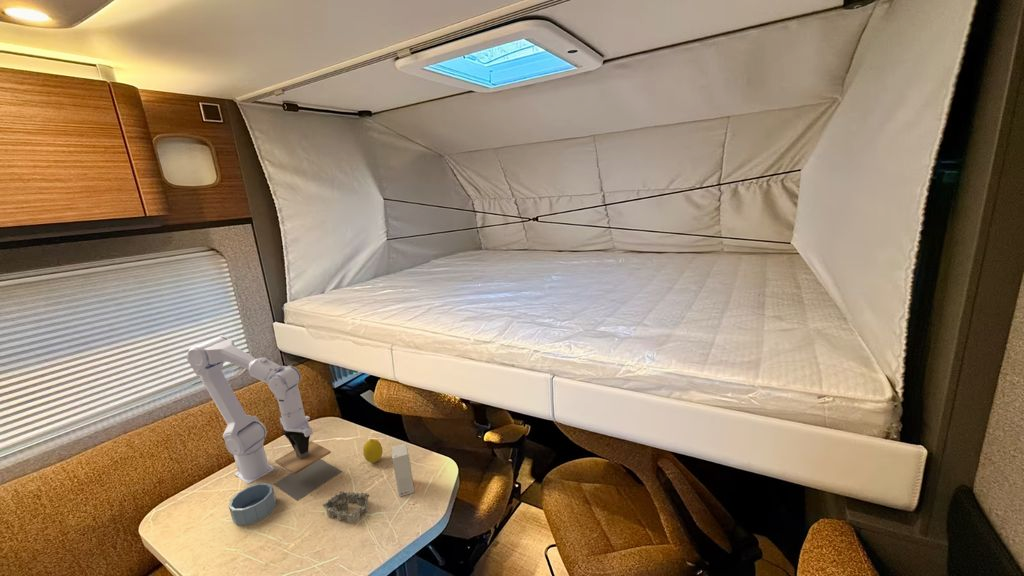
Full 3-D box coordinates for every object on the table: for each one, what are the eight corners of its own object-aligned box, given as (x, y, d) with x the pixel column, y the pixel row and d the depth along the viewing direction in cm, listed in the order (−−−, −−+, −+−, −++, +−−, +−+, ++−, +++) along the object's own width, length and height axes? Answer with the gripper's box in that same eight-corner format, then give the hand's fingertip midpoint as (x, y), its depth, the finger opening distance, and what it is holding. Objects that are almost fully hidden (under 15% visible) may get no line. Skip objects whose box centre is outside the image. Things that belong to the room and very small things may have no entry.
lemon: (378, 468, 127) (374, 445, 125) (362, 467, 128) (357, 444, 126) (387, 457, 132) (383, 434, 130) (371, 456, 133) (367, 434, 131)
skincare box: (414, 493, 115) (408, 454, 112) (398, 497, 114) (391, 458, 111) (413, 479, 120) (406, 442, 118) (398, 483, 119) (391, 446, 117)
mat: (273, 485, 124) (273, 484, 124) (317, 458, 135) (317, 457, 135) (297, 502, 116) (297, 500, 116) (342, 472, 127) (342, 471, 126)
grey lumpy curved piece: (374, 507, 112) (371, 493, 111) (352, 528, 105) (349, 514, 104) (345, 497, 116) (342, 484, 115) (322, 516, 110) (319, 503, 109)
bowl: (227, 517, 112) (222, 501, 111) (266, 493, 120) (262, 478, 119) (243, 532, 107) (239, 515, 106) (283, 506, 114) (279, 490, 113)
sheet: (275, 462, 122) (271, 448, 121) (311, 442, 131) (308, 429, 130) (294, 474, 116) (291, 460, 115) (331, 452, 125) (327, 438, 124)
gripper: (318, 408, 119) (328, 450, 122) (292, 397, 127) (302, 437, 130) (294, 420, 113) (304, 464, 116) (268, 408, 122) (279, 449, 125)
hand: (301, 450), depth 123 cm, fingers closed on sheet, 2 cm apart
